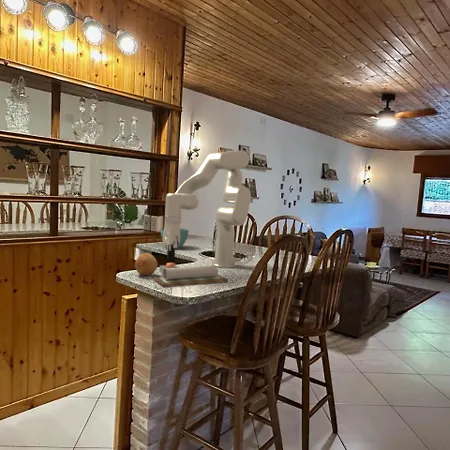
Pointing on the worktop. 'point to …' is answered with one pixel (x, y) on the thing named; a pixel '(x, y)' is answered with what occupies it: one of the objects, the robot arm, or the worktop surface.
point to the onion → (146, 264)
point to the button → (170, 265)
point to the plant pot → (182, 237)
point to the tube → (189, 272)
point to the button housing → (165, 267)
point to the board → (189, 281)
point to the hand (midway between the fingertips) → (170, 259)
